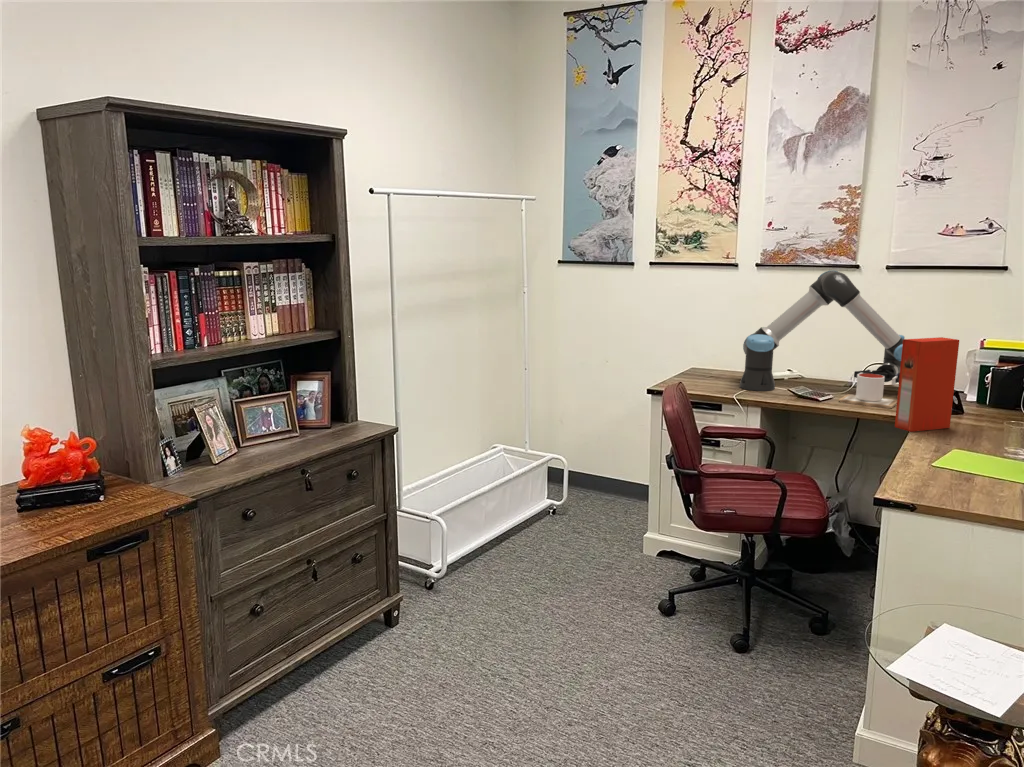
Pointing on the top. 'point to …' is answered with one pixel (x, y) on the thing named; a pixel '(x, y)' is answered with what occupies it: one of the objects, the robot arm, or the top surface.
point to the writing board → (854, 400)
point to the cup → (870, 387)
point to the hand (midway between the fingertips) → (875, 379)
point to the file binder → (926, 383)
